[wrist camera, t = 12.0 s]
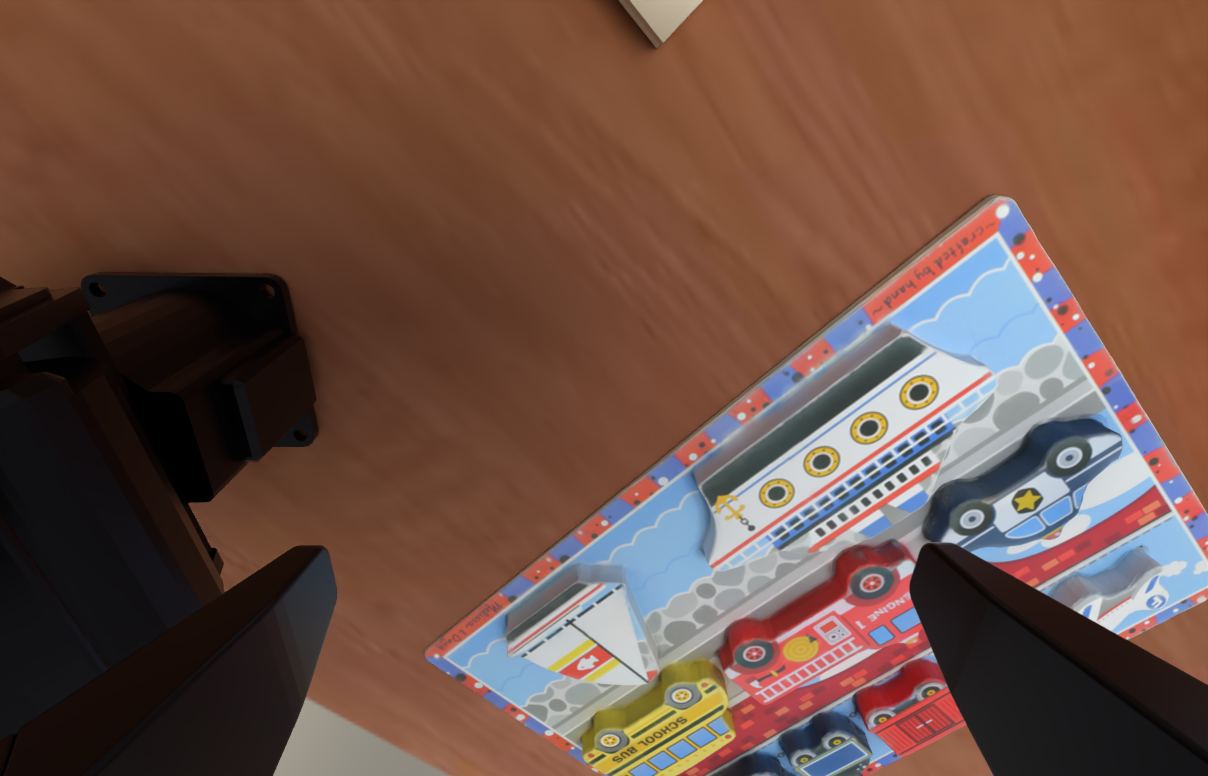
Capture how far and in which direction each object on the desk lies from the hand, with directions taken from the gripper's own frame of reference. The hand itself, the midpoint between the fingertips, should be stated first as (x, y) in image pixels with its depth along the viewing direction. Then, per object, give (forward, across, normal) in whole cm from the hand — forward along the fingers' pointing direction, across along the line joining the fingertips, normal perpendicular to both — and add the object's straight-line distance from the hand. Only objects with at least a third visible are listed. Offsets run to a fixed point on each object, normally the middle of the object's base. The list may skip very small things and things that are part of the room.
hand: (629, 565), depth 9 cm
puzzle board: (+14, -10, +14) cm, 23 cm away
